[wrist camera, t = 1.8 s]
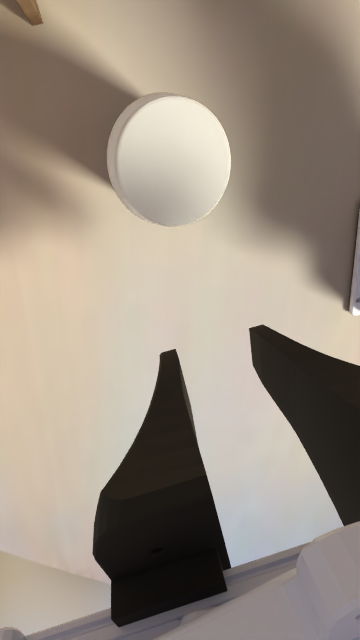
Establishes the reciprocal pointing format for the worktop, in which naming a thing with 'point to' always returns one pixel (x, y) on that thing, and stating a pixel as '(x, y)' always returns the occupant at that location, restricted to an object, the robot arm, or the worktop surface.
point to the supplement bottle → (168, 159)
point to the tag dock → (31, 11)
